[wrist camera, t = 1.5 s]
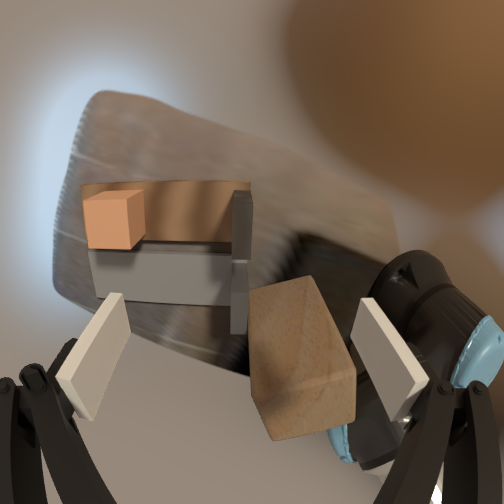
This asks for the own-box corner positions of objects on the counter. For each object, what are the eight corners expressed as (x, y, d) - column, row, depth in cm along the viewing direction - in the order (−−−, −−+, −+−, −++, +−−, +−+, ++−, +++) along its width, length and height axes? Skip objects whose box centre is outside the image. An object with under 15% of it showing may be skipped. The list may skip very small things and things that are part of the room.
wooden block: (260, 339, 45) (271, 443, 27) (245, 289, 42) (250, 396, 23) (319, 325, 45) (356, 422, 26) (311, 273, 41) (358, 369, 22)
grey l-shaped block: (247, 253, 39) (249, 284, 31) (244, 302, 42) (246, 340, 34) (90, 249, 38) (61, 275, 30) (99, 294, 41) (75, 325, 33)
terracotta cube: (143, 189, 34) (126, 199, 29) (145, 233, 37) (130, 249, 31) (104, 191, 34) (82, 200, 28) (107, 232, 36) (88, 248, 31)
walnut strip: (250, 181, 36) (253, 194, 27) (247, 240, 39) (250, 268, 30) (83, 184, 34) (48, 197, 26) (89, 236, 37) (58, 260, 29)
